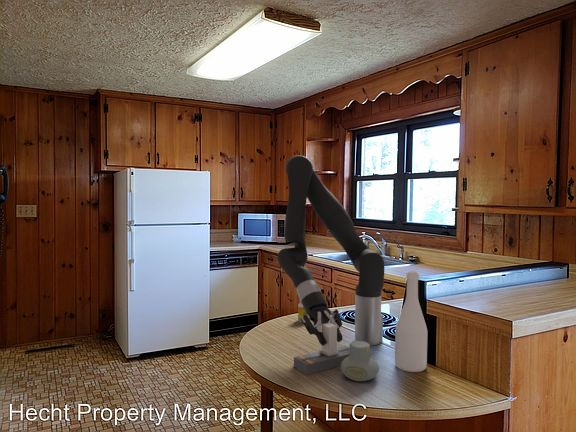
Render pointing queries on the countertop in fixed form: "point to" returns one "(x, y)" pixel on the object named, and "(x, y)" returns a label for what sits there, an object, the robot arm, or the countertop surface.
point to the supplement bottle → (301, 312)
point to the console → (320, 360)
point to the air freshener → (359, 363)
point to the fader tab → (329, 339)
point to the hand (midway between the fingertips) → (332, 342)
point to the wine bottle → (411, 331)
